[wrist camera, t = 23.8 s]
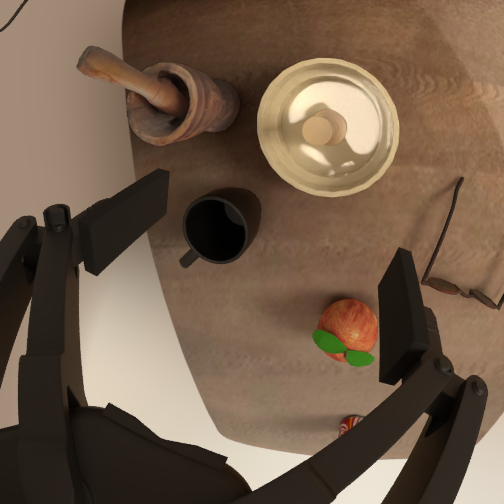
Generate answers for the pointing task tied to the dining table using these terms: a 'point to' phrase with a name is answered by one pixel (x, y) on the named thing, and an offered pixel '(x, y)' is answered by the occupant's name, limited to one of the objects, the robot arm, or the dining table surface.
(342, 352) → the fruit
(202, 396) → the dining table surface
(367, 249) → the dining table surface
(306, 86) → the bowl
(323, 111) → the muddler
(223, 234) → the mug
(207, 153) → the dining table surface
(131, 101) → the mortar and pestle
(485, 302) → the eyeglasses
